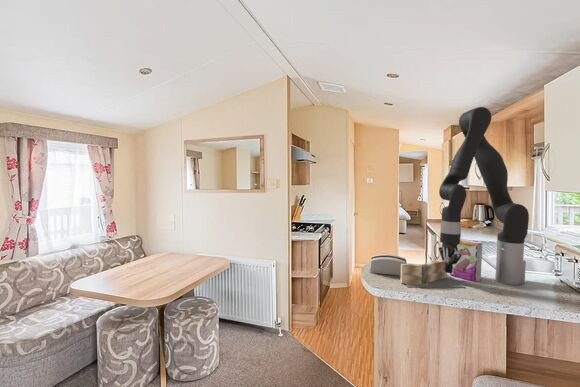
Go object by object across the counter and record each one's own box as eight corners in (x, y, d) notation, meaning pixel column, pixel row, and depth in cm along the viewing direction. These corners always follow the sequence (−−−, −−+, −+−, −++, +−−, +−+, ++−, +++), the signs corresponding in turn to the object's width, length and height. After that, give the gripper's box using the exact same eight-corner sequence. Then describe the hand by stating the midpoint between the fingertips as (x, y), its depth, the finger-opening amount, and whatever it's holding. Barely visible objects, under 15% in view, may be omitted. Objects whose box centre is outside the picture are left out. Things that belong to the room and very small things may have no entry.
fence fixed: (425, 283, 128) (425, 264, 127) (427, 284, 126) (427, 265, 125) (400, 282, 128) (400, 263, 128) (401, 284, 126) (402, 265, 126)
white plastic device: (408, 272, 140) (408, 253, 136) (408, 278, 136) (408, 260, 132) (370, 268, 146) (369, 251, 142) (369, 275, 142) (368, 257, 138)
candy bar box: (449, 275, 137) (450, 239, 136) (455, 273, 140) (456, 237, 139) (475, 282, 128) (477, 244, 127) (481, 280, 131) (483, 242, 130)
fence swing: (443, 276, 135) (443, 259, 134) (447, 277, 133) (447, 260, 133) (423, 281, 128) (424, 263, 128) (427, 282, 127) (428, 264, 126)
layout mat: (442, 271, 142) (442, 270, 142) (465, 287, 122) (465, 287, 122) (392, 271, 143) (392, 270, 143) (407, 287, 123) (407, 286, 123)
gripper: (469, 234, 121) (467, 277, 122) (449, 228, 134) (447, 267, 136) (451, 234, 121) (449, 278, 122) (433, 228, 134) (431, 267, 135)
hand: (448, 272), depth 129 cm, fingers closed
